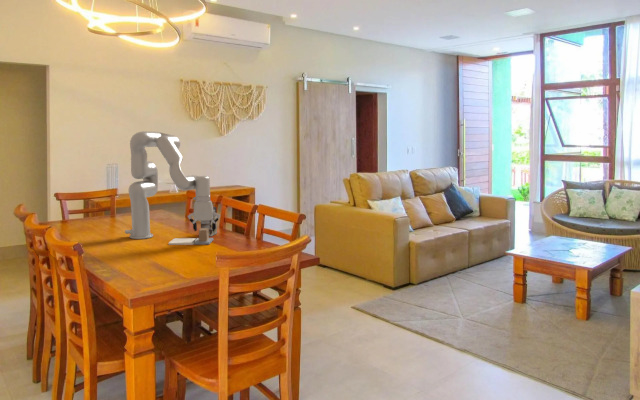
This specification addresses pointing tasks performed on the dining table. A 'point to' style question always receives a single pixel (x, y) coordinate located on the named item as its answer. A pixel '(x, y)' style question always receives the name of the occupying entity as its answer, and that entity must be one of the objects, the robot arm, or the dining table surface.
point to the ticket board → (183, 241)
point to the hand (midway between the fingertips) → (204, 230)
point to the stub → (203, 237)
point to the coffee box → (210, 224)
